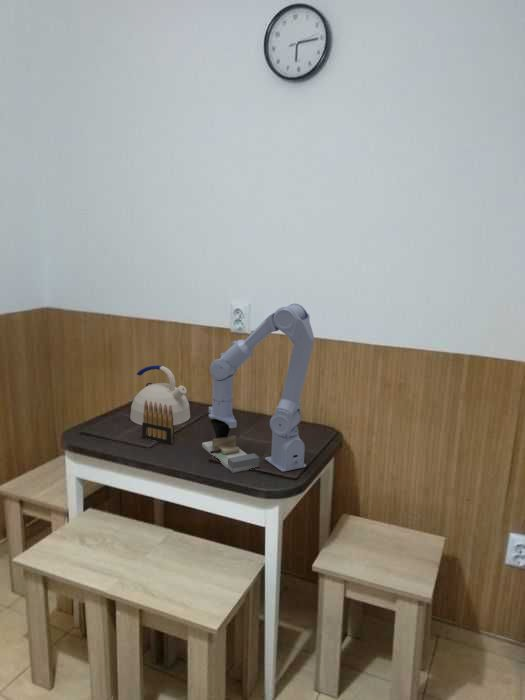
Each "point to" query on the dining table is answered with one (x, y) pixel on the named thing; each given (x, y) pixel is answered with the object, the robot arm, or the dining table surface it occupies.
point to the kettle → (161, 398)
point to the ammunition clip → (158, 423)
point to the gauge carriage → (225, 445)
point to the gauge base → (234, 459)
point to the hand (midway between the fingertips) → (221, 443)
